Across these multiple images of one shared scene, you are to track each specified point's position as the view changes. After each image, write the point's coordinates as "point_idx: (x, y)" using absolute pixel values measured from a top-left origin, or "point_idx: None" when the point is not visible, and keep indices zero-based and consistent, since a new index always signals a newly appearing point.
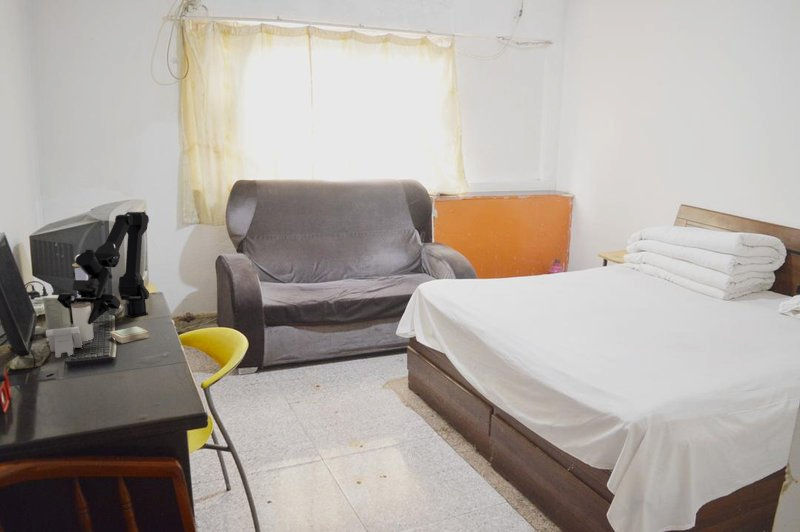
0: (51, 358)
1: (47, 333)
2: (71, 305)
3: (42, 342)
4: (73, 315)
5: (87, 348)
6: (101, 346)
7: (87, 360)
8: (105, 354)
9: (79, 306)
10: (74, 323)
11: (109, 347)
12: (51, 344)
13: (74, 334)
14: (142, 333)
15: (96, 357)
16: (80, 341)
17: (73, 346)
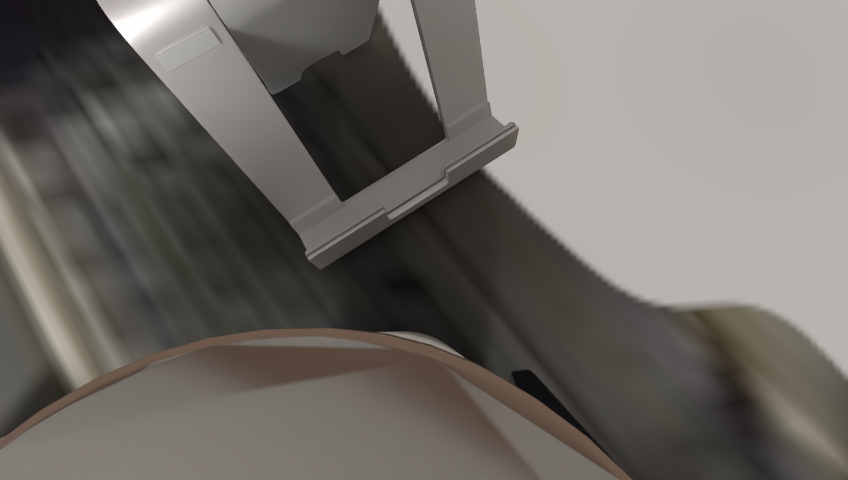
0: (383, 20)
1: None
2: (537, 401)
3: (767, 329)
4: (441, 346)
5: (267, 252)
6: (180, 319)
7: (109, 27)
8: (45, 151)
9: (115, 377)
10: (435, 341)
11: (97, 306)
12: (465, 67)
13: (246, 91)
14: None
15: (78, 86)
16: (267, 188)
17: (355, 202)
